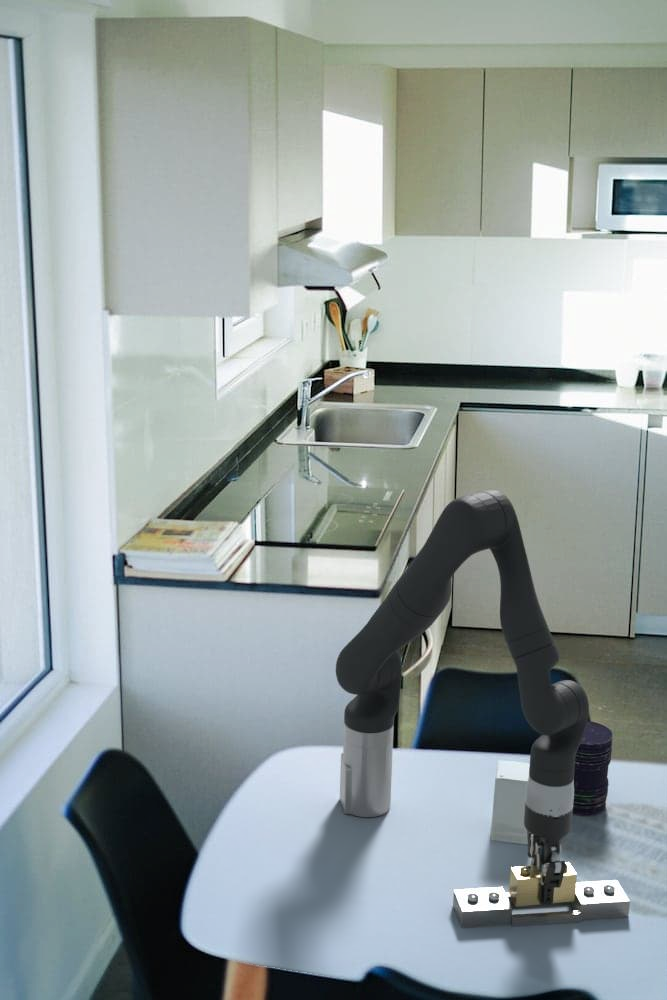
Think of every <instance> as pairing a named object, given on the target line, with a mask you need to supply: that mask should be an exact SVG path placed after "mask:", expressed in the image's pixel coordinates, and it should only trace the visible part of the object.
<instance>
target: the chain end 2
mask: <svg viewBox="0 0 667 1000" xmlns="http://www.w3.org/2000/svg"><path fill="white" fill-rule="evenodd" d="M569 903H570V904H571V906H572V908H573V910H563V911H549V912H545V913H546V915H547V924H546V925H554V924H556V925H558V924H572V923H582V921H586V920H588V921H589V920H604V919H619V918H620V919H621V918H629V915H630V904H631V900H630V898H629V897H628V896H627V894H626V892H625V891H624V888H622V886H621V884H620V882H619V880H617V879H612V880H611V879H610V880H595V881H581V882H580V881H578V882H577V881H576V892H575V901H572V902H569Z"/></svg>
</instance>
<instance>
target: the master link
mask: <svg viewBox="0 0 667 1000" xmlns="http://www.w3.org/2000/svg"><path fill="white" fill-rule="evenodd" d="M545 875H546V872H545ZM577 877H578V874H577V872H576V871H575V869H574V867H573V866H572V865H571V863H570V862H569V861H568V862H566V869H565V873H564V876H563V879H562V883H561V886H560V888H557V887H555V888H554V895H553V903H552V904H559V903H560V904H561V903H570V902H572V901H575V892H576V882H577ZM539 889H540V871H539V869H538V868H537V865H533V866H531V865H525V866H514V867H512V866H510V877H509V889H508V890H509V891H508V893H509V895H510V897H511V899H512V900H513V902H514V904H513V905H514V906H515V907H529V906H537V905H541V904H540V902H539Z"/></svg>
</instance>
